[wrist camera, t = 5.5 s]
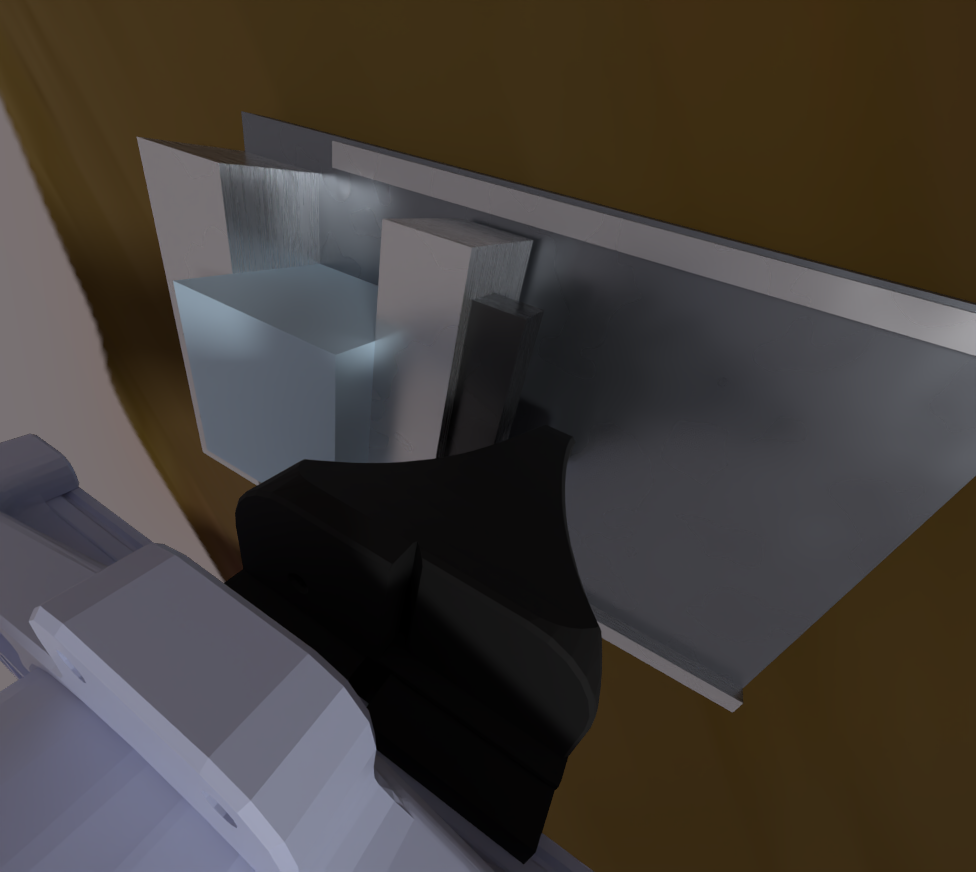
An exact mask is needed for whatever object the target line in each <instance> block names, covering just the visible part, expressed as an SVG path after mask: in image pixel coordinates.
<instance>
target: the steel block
mask: <svg viewBox="0 0 976 872" xmlns="http://www.w3.org/2000/svg"><path fill="white" fill-rule="evenodd" d="M173 283H174V288H175V293H176V298H177V303H178V308H179V313H180V318H181V323H182V328H183V333H184V338H185V343H186V347H187V352H188V357H189V362H190V367H191V372H192V377H193V382H194V387H195V392H196V397H197V402H198V407H199V412H200V417H201V421H202V426H203V431H204V436H205V441H206V446H207V450H208V451H210V452H212V453H213V454H215V455H217V456H218V457H220V458H221V459H223V460H225V461H226V462H228V463H230V464H231V465H233V466H235V467H236V468H238V469H239V470H241V471H243V472H244V473H246V474H248V475H249V476H251V477H253V478H254V479H256V480H257V481H259V482H261V483H263V482H264V481H266V480H268V479H270V478H271V477H273V476H275V475H277V474H278V473H280V472H282V471H284V470H285V469H287V468H289V467H291V466H292V465H294V464H296V463H298V462H300V461H302V460H303V459H309V460H320V461H335V462H349V463H368V450H369V433H370V417H371V400H372V383H373V367H374V350H375V332H376V315H377V298H378V286H377V285H374V284H372V283H369V282H366V281H364V280H361V279H359V278H356V277H353V276H351V275H348V274H346V273H343V272H340V271H338V270H335V269H332V268H330V267H327V266H325V265H322V264H313V265H304V266H295V267H287V268H278V269H269V270H261V271H252V272H243V273H234V274H226V275H217V276H208V277H200V278H191V279H182V280H173Z"/></svg>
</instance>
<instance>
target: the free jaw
mask: <svg viewBox="0 0 976 872" xmlns="http://www.w3.org/2000/svg"><path fill="white" fill-rule="evenodd" d="M532 244H533V240H531V239H528V238H524V237H521V236H518V235H514V234H511V233H508V232H505V231H501V230H498V229H495V228H491V227H488V226H485V225H481V224H478V223H475V222H472V221H468V220H465V219H462V218H417V219H382V232H381V248H380V265H379V282H378V298H377V315H376V332H375V350H374V367H373V383H372V400H371V417H370V433H369V450H368V463H390V462H406V461H416V460H426V459H435V458H441V457H446V456H452V455H457V454H462V453H466V452H470V451H474V450H477V449H480V448H484V447H487V446H490V445H493V444H496V443H499V442H502V441H505V440H507V439H508V438H509V434H510V430H511V427H512V423H513V420H514V416H515V413H516V409H517V406H518V402H519V399H520V395H521V392H522V388H523V384H524V381H525V377H526V374H527V370H528V367H529V363H530V360H531V356H532V353H533V349H534V346H535V342H536V338H537V335H538V331H539V328H540V324H541V321H542V317H543V314H544V310H542V309H539V308H537V307H534V306H531V305H528V304H525V303H522V302H520V301H519V297H520V293H521V289H522V285H523V280H524V276H525V272H526V268H527V264H528V260H529V256H530V252H531V248H532Z"/></svg>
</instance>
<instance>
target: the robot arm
mask: <svg viewBox="0 0 976 872" xmlns="http://www.w3.org/2000/svg"><path fill="white" fill-rule="evenodd" d="M574 444H575V440H574V438H573V436H570V435H568V434H566V433H564V432H561V431H559V430H557V429H555V428H552V427H550V426H548V425H543V426H540V427H538V428H535V429H533V430H530V431H528V432H525V433H523V434H520V435H518V436H515V437H513V438H510V439H507V440H505V441H502V442H499V443H496V444H493V445H490V446H487V447H484V448H480V449H477V450H474V451H470V452H466V453H462V454H457V455H452V456H446V457H441V458H435V459H426V460H416V461H406V462H390V463H349V462H335V461H320V460H309V459H303V460H302V461H300V462H298V463H296V464H294V465H292V466H291V467H289V468H287V469H285V470H284V471H282V472H280V473H278V474H277V475H275V476H273V477H271V478H270V479H268V480H266V481H264V482H263V483H261V484H259V485H257V486H256V487H254V488H252V489H250V490H249V491H247V492H246V493H245V494H243V495H242V496H241V497H240V498H239V501H238V504H237V508H236V512H235V517H236V529H237V534H238V540H239V546H240V552H241V557H242V563H243V570H241V571H240V572H239V573H237V574H236V575H235V576H233V577H232V578H230V579H229V580H228V581H226V582H225V583H223V582H221V581H220V580H219V579H217V578H216V577H214V576H213V575H212V574H210V573H209V572H208V571H206V570H205V569H203V568H202V567H201V566H199V565H198V564H197V563H195V562H194V561H192V560H191V559H190V558H189V557H187V556H186V555H184V554H182V553H180V552H178V551H176V550H174V549H172V548H170V547H168V546H166V545H165V544H158V543H153V542H152V541H150V540H149V539H148V538H146V537H145V536H144V535H142V534H141V533H140V532H138V531H137V530H136V529H134V528H133V527H132V526H130V525H129V524H128V523H126V522H125V521H124V520H122V519H121V518H120V517H118V516H117V515H116V514H114V513H113V512H112V511H110V510H109V509H108V508H106V507H105V506H104V505H102V504H101V503H100V502H98V501H97V500H96V499H94V498H93V497H91V496H90V495H89V494H87V493H86V492H85V491H84V490H82V489H81V488H79V487H78V485H79V482H78V479H77V476H76V474H75V472H74V469H73V468H72V466H71V464H70V463H69V461H68V460H67V459H66V457H64V456H63V455H62V454H61V453H60V452H59V451H58V450H56V449H55V448H53V447H52V446H51V445H49V444H48V443H46V442H45V441H44V440H42V439H41V438H40V437H38V436H37V435H34V434H27V435H24V436H21V437H18V438H14V439H11V440H8V441H5V442H1V443H0V661H1V662H2V663H3V664H4V665H5V666H6V667H7V668H8V669H9V671H10V672H11V673H12V674H13V675H14V676H15V677H16V678H17V679H18V681H16V682H14V683H13V684H11V685H10V686H8V687H7V688H5V689H4V690H2V691H1V692H0V872H594V871H592V870H591V869H590V868H588V867H587V866H586V865H584V864H583V863H582V862H580V861H579V860H578V859H576V858H575V857H573V856H572V855H571V854H569V853H568V852H567V851H565V850H564V849H563V848H561V847H560V846H559V845H557V844H556V843H555V842H553V841H552V840H551V839H549V838H548V837H547V836H545V835H544V834H543V833H542V830H543V827H544V824H545V820H546V817H547V814H548V810H549V807H550V804H551V800H552V797H553V794H554V790H556V789H557V788H558V787H559V784H560V782H561V779H562V776H563V773H564V769H565V766H566V762H567V759H568V756H569V755H570V754H571V752H572V751H573V750H574V748H575V747H576V746H577V745H578V743H579V742H580V741H581V739H582V738H583V737H584V735H585V734H586V733H587V732H588V730H589V729H590V728H591V725H592V723H593V721H594V719H595V716H596V712H597V708H598V703H599V695H600V687H601V674H602V635H601V629H600V627H599V625H598V622H597V620H596V618H595V616H594V613H593V611H592V609H591V606H590V604H589V601H588V599H587V596H586V594H585V591H584V588H583V585H582V582H581V579H580V576H579V573H578V569H577V566H576V562H575V558H574V554H573V551H572V547H571V543H570V537H569V531H568V525H567V517H566V505H565V480H566V468H567V462H568V460H569V457H570V455H571V452H572V449H573V447H574Z"/></svg>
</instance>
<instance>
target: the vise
mask: <svg viewBox="0 0 976 872" xmlns="http://www.w3.org/2000/svg"><path fill="white" fill-rule="evenodd" d="M241 112H242V111H241ZM242 122H243V133H244V143H245V151H239V150H231V149H224V148H217V147H209V146H202V145H195V144H187V143H180V142H172V141H165V140H158V139H150V138H143V137H137V140H138V145H139V150H140V155H141V159H142V164H143V169H144V174H145V178H146V183H147V188H148V193H149V197H150V202H151V207H152V212H153V216H154V221H155V226H156V231H157V235H158V240H159V245H160V250H161V254H162V259H163V264H164V269H165V273H166V278H167V283H168V288H169V293H170V297H171V302H172V307H173V312H174V316H175V321H176V326H177V331H178V335H179V340H180V345H181V350H182V354H183V359H184V364H185V369H186V373H187V378H188V383H189V388H190V392H191V397H192V402H193V407H194V411H195V416H196V421H197V426H198V430H199V435H200V440H201V445H202V449H203V452H204V453H205V454H207V455H209V456H210V457H212V458H213V459H215V460H217V461H218V462H220V463H222V464H223V465H225V466H226V467H228V468H230V469H231V470H233V471H234V472H236V473H238V474H239V475H241V476H243V477H244V478H246V479H247V480H249V481H251V482H252V483H254V484H256V485H259V484H261V482H259V481H257V480H256V479H254V478H253V477H251V476H249V475H248V474H246V473H244V472H243V471H241V470H239V469H238V468H236V467H235V466H233V465H231V464H230V463H228V462H226V461H225V460H223V459H221V458H220V457H218V456H217V455H215V454H213V453H212V452H210V451H208V450H207V446H206V441H205V436H204V431H203V426H202V421H201V417H200V412H199V407H198V402H197V397H196V392H195V387H194V382H193V377H192V372H191V367H190V362H189V357H188V352H187V347H186V343H185V338H184V333H183V328H182V323H181V318H180V313H179V308H178V303H177V298H176V293H175V288H174V283H173V280H182V279H191V278H200V277H208V276H217V275H226V274H234V273H243V272H252V271H261V270H269V269H278V268H287V267H295V266H304V265H313V264H322V265H325V266H327V267H330V268H332V269H335V270H338V271H340V272H343V273H346V274H348V275H351V276H353V277H356V278H359V279H361V280H364V281H366V282H369V283H372V284H374V285H377V286H378V282H379V265H380V248H381V232H382V219H417V218H462V219H465V220H468V221H472V222H475V223H478V224H481V225H485V226H488V227H491V228H495V229H498V230H501V231H505V232H508V233H511V234H514V235H518V236H521V237H524V238H528V239H531V240H533V244H532V248H531V252H530V256H529V260H528V264H527V268H526V272H525V276H524V280H523V285H522V289H521V293H520V297H519V301H520V302H522V303H525V304H528V305H531V306H534V307H537V308H539V309H542V310H544V314H543V317H542V321H541V324H540V328H539V331H538V335H537V338H536V342H535V346H534V349H533V353H532V356H531V360H530V363H529V367H528V370H527V374H526V377H525V381H524V384H523V388H522V392H521V395H520V399H519V402H518V406H517V409H516V413H515V416H514V420H513V423H512V427H511V430H510V434H509V438H508V439H510V438H513V437H515V436H518V435H520V434H523V433H525V432H528V431H530V430H533V429H535V428H538V427H540V426H543V425H548V426H550V427H552V428H555V429H557V430H559V431H561V432H564V433H566V434H568V435H570V436H573V438H574V440H575V444H574V447H573V449H572V452H571V455H570V457H569V460H568V462H567V468H566V480H565V505H566V517H567V525H568V531H569V537H570V543H571V547H572V551H573V554H574V558H575V562H576V566H577V569H578V573H579V576H580V579H581V582H582V585H583V588H584V591H585V594H586V596H587V599H588V601H589V604H590V606H591V609H592V611H593V613H594V616H595V618H596V620H597V622H598V625H599V627H600V629H601V635H602V638H604V639H605V640H607V641H609V642H611V643H612V644H614V645H616V646H618V647H619V648H621V649H623V650H624V651H626V652H628V653H630V654H631V655H633V656H635V657H637V658H638V659H640V660H642V661H644V662H645V663H647V664H649V665H651V666H652V667H654V668H656V669H658V670H659V671H661V672H663V673H665V674H666V675H668V676H670V677H672V678H673V679H675V680H677V681H679V682H680V683H682V684H684V685H686V686H687V687H689V688H691V689H693V690H694V691H696V692H698V693H700V694H701V695H703V696H705V697H707V698H708V699H710V700H712V701H713V702H715V703H717V704H719V705H720V706H722V707H724V708H726V709H727V710H729V711H731V712H734V711H735V710H736V709H737V708H738V707H739V706H741V705H742V704H743V687H745V686H746V685H747V684H748V683H749V682H750V681H751V680H752V679H753V678H754V677H755V676H757V675H758V674H759V673H760V672H761V671H762V670H763V669H764V668H765V667H766V666H768V665H769V664H770V663H771V662H772V661H773V660H774V659H775V658H776V657H777V656H778V655H780V654H781V653H782V652H783V651H784V650H785V649H786V648H787V647H788V646H789V645H791V644H792V643H793V642H794V641H795V640H796V639H797V638H798V637H799V636H800V635H801V634H803V633H804V632H805V631H806V630H807V629H808V628H809V627H810V626H811V625H812V624H814V623H815V622H816V621H817V620H818V619H819V618H820V617H821V616H822V615H823V614H824V613H826V612H827V611H828V610H829V609H830V608H831V607H832V606H833V605H834V604H835V603H837V602H838V601H839V600H840V599H841V598H842V597H843V596H844V595H845V594H846V593H847V592H849V591H850V590H851V589H852V588H853V587H854V586H855V585H856V584H857V583H858V582H860V581H861V580H862V579H863V578H864V577H865V576H866V575H867V574H868V573H869V572H870V571H872V570H873V569H874V568H875V567H876V566H877V565H878V564H879V563H880V562H881V561H882V560H884V559H885V558H886V557H887V556H888V555H889V554H890V553H891V552H892V551H893V550H895V549H896V548H897V547H898V546H899V545H900V544H901V543H902V542H903V541H904V540H905V539H907V538H908V537H909V536H910V535H911V534H912V533H913V532H914V531H915V530H916V529H918V528H919V527H920V526H921V525H922V524H923V523H924V522H925V521H926V520H927V519H928V518H930V517H931V516H932V515H933V514H934V513H935V512H936V511H937V510H938V509H939V508H941V507H942V506H943V505H944V504H945V503H946V502H947V501H948V500H949V499H950V498H951V497H953V496H954V495H955V494H956V493H957V492H958V491H959V490H960V489H961V488H962V487H964V486H965V485H966V484H967V483H968V482H969V481H970V480H971V479H972V478H973V477H974V476H976V303H974V302H970V301H967V300H963V299H959V298H955V297H951V296H948V295H944V294H940V293H936V292H932V291H929V290H925V289H921V288H917V287H913V286H910V285H906V284H902V283H898V282H894V281H891V280H887V279H883V278H879V277H875V276H871V275H868V274H864V273H860V272H856V271H852V270H849V269H845V268H841V267H837V266H833V265H830V264H826V263H822V262H818V261H814V260H811V259H807V258H803V257H799V256H795V255H792V254H788V253H784V252H780V251H776V250H772V249H769V248H765V247H761V246H757V245H753V244H750V243H746V242H742V241H738V240H734V239H731V238H727V237H723V236H719V235H715V234H712V233H708V232H704V231H700V230H696V229H693V228H689V227H685V226H681V225H677V224H674V223H670V222H666V221H662V220H658V219H654V218H651V217H647V216H643V215H639V214H635V213H632V212H628V211H624V210H620V209H616V208H613V207H609V206H605V205H601V204H597V203H594V202H590V201H586V200H582V199H578V198H575V197H571V196H567V195H563V194H559V193H556V192H552V191H548V190H544V189H540V188H536V187H533V186H529V185H525V184H521V183H517V182H514V181H510V180H506V179H502V178H498V177H495V176H491V175H487V174H483V173H479V172H476V171H472V170H468V169H464V168H460V167H457V166H453V165H449V164H445V163H441V162H437V161H434V160H430V159H426V158H422V157H418V156H415V155H411V154H407V153H403V152H399V151H396V150H392V149H388V148H384V147H380V146H377V145H373V144H369V143H365V142H361V141H358V140H354V139H350V138H346V137H342V136H339V135H335V134H331V133H327V132H323V131H319V130H316V129H312V128H308V127H304V126H300V125H297V124H293V123H289V122H285V121H281V120H278V119H274V118H270V117H265V116H261V115H256V114H251V113H247V112H242Z"/></svg>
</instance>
